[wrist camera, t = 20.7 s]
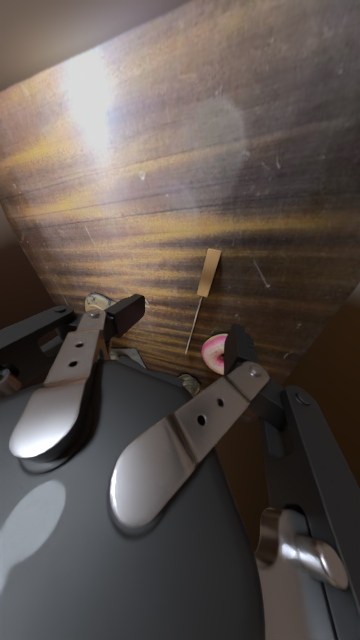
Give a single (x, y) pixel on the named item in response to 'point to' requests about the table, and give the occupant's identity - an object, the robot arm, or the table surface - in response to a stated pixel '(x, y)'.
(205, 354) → the donut
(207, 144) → the table surface
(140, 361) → the stuffed giraffe
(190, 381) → the seashell
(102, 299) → the decorative bowl
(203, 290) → the knife
